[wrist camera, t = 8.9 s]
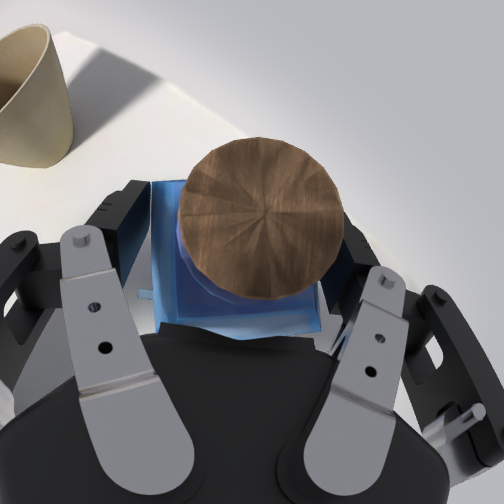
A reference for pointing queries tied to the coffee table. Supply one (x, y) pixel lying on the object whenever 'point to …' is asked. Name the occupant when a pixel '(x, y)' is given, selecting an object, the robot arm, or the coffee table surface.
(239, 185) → the perfume bottle
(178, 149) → the coffee table surface
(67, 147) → the plant pot
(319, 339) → the coffee table surface
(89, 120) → the coffee table surface
